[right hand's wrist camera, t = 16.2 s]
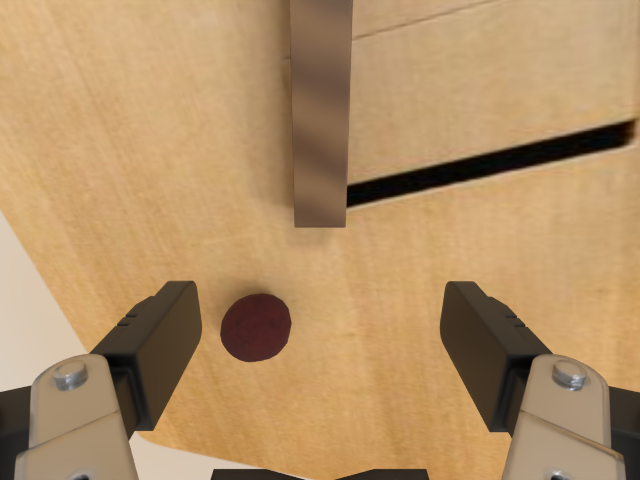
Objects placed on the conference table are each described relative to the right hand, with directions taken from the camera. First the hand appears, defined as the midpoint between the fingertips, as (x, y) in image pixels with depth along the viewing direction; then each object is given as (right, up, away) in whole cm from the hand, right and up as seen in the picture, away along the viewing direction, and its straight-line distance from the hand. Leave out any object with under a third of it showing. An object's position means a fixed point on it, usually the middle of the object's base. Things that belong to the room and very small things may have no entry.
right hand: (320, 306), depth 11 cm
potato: (-7, -6, +30) cm, 31 cm away
